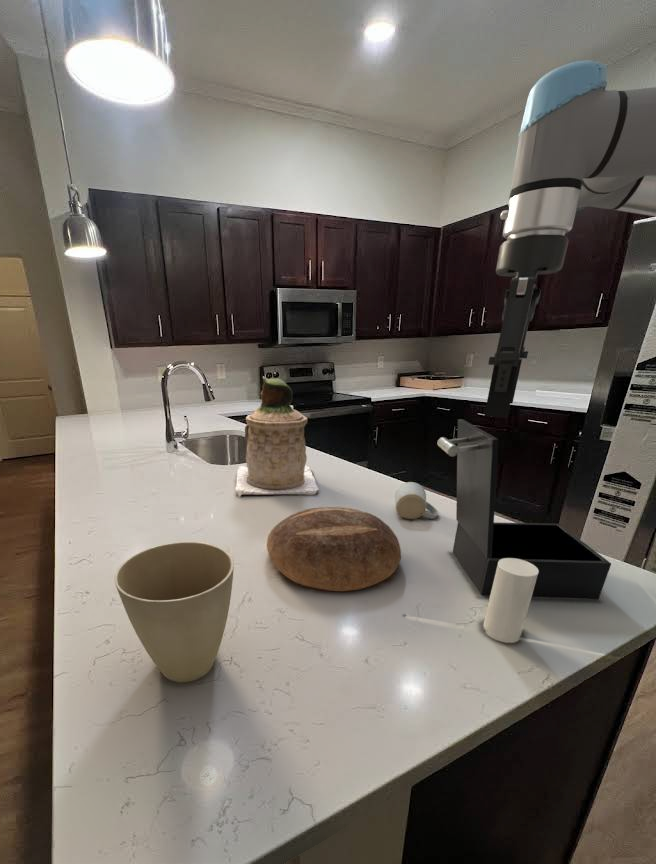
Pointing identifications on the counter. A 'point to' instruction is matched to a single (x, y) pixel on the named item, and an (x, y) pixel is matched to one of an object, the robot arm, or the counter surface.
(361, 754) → the counter surface
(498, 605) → the canister
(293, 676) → the counter surface
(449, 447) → the bin lid
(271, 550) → the bread
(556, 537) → the bin
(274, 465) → the cookie jar
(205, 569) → the plant pot
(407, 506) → the ceramic mug
